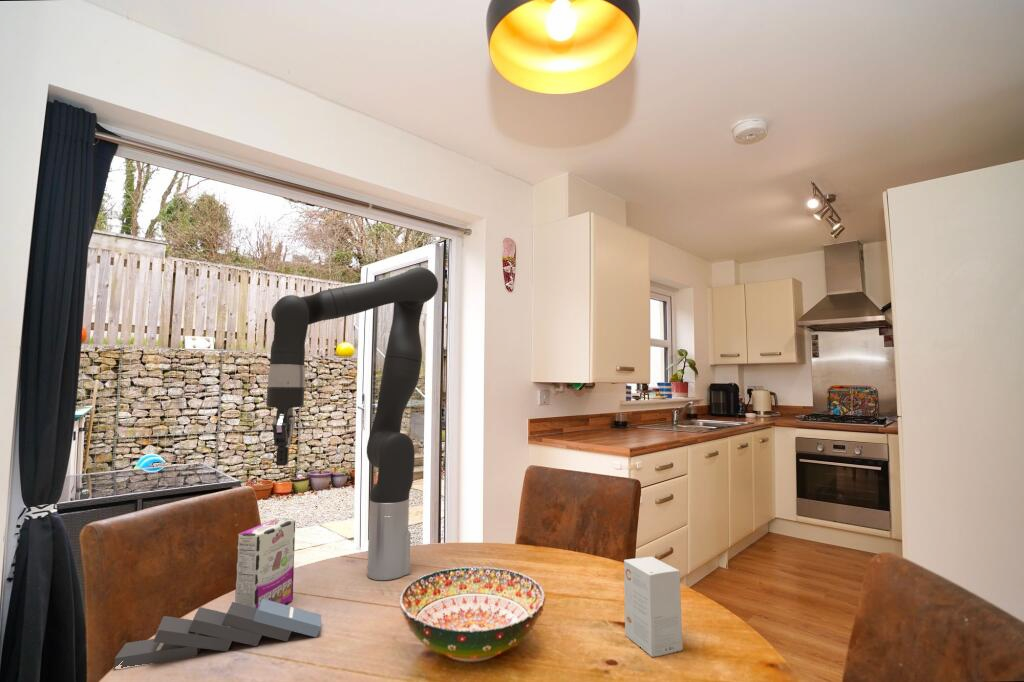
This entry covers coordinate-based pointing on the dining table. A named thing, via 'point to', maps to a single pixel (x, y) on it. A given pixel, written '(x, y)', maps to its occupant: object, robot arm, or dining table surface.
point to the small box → (653, 605)
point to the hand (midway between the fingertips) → (282, 465)
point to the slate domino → (288, 618)
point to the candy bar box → (266, 563)
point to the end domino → (152, 653)
